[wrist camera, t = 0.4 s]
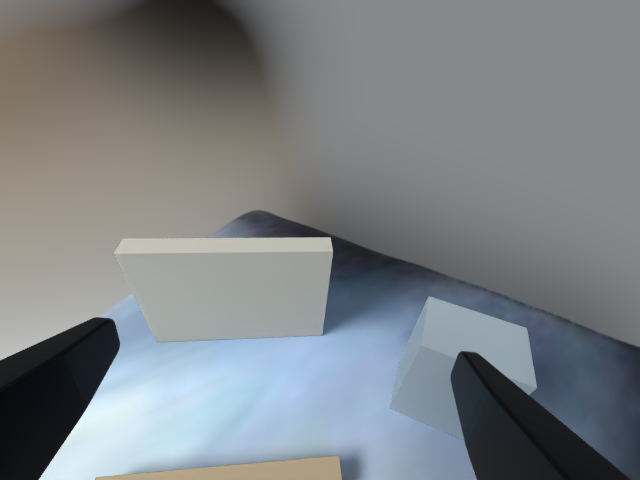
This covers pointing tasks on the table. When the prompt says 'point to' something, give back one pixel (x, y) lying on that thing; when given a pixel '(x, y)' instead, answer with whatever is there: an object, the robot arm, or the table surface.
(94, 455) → the table surface
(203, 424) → the table surface
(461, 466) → the table surface
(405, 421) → the table surface
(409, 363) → the pale grey square box
